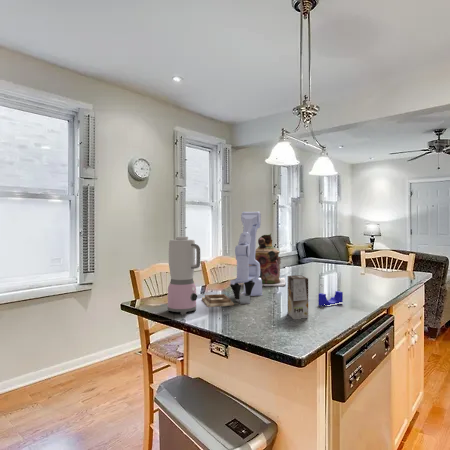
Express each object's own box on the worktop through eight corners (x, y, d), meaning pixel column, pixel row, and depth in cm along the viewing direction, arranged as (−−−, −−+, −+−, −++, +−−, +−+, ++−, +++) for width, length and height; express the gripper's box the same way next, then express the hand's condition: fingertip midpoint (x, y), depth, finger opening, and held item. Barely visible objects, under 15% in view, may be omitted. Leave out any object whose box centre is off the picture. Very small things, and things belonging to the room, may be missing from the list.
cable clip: (335, 303, 162) (335, 290, 162) (342, 305, 158) (342, 292, 158) (316, 305, 157) (316, 292, 157) (323, 307, 153) (323, 294, 153)
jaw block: (245, 301, 168) (245, 292, 168) (250, 304, 161) (250, 295, 161) (235, 301, 166) (235, 293, 166) (240, 304, 159) (240, 296, 159)
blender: (161, 312, 144) (161, 237, 144) (179, 306, 155) (179, 236, 155) (190, 317, 136) (190, 237, 136) (208, 311, 146) (208, 236, 146)
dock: (225, 298, 172) (225, 293, 172) (234, 305, 156) (234, 299, 156) (202, 299, 169) (202, 294, 169) (208, 307, 153) (208, 301, 153)
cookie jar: (248, 280, 230) (247, 232, 230) (284, 280, 227) (284, 232, 227) (245, 286, 206) (245, 233, 206) (286, 287, 202) (286, 233, 202)
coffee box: (309, 319, 134) (309, 278, 134) (293, 319, 133) (293, 278, 133) (301, 313, 143) (301, 275, 143) (286, 313, 142) (286, 275, 142)
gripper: (246, 267, 171) (246, 294, 171) (225, 270, 161) (225, 298, 161) (257, 268, 166) (257, 296, 166) (236, 271, 156) (236, 301, 156)
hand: (242, 297), depth 163 cm, fingers open, 7 cm apart
